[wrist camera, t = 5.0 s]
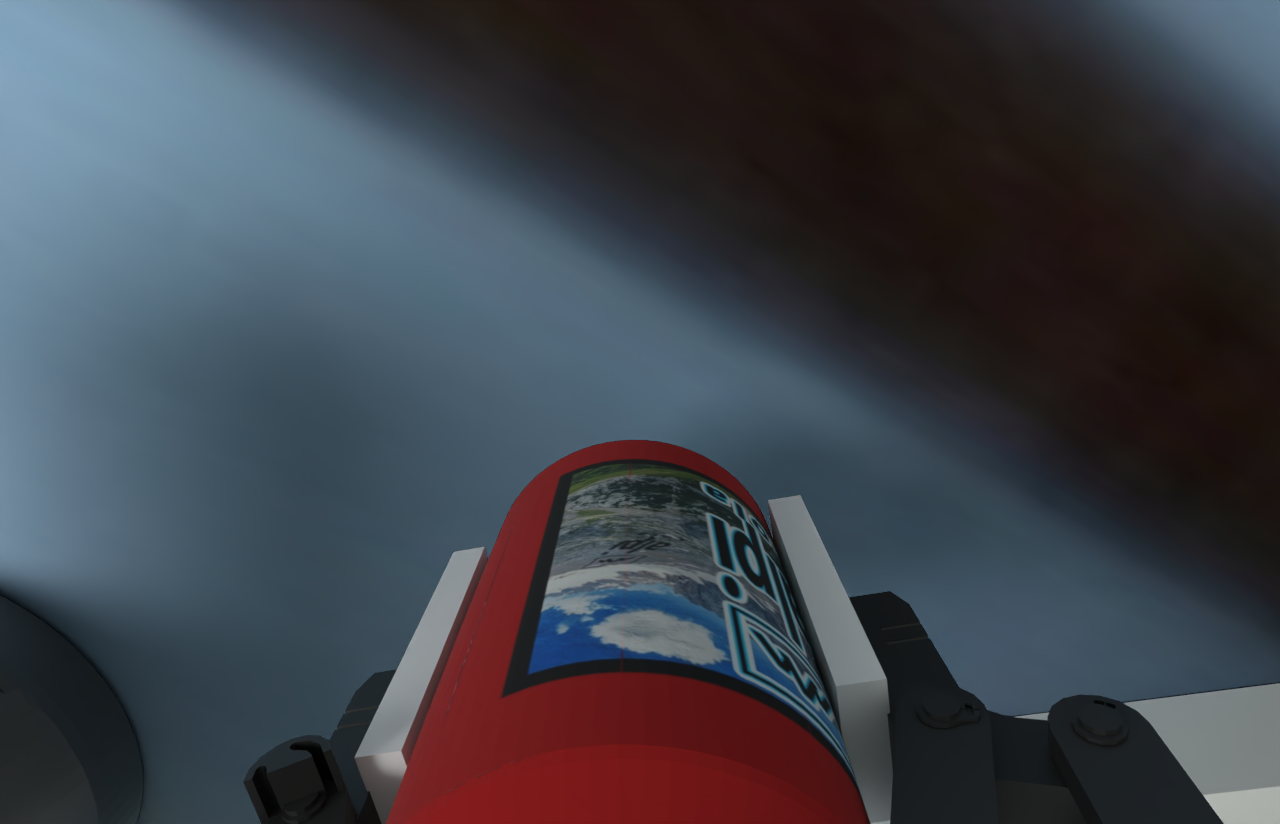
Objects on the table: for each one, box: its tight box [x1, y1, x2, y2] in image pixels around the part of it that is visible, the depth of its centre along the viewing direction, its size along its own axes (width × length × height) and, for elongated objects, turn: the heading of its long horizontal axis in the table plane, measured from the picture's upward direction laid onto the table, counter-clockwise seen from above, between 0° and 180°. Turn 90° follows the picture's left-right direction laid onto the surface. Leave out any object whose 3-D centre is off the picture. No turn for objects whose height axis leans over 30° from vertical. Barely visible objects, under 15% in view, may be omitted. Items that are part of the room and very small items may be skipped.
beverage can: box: [386, 440, 871, 824], centre depth 13 cm, size 7×7×12 cm
